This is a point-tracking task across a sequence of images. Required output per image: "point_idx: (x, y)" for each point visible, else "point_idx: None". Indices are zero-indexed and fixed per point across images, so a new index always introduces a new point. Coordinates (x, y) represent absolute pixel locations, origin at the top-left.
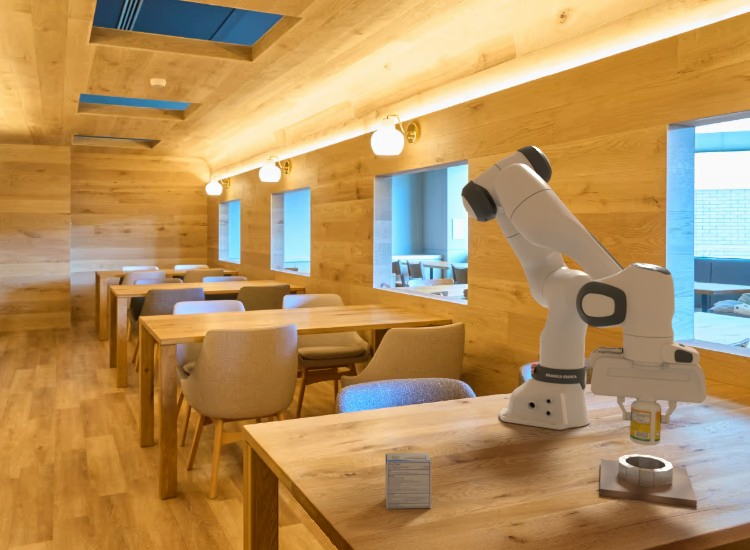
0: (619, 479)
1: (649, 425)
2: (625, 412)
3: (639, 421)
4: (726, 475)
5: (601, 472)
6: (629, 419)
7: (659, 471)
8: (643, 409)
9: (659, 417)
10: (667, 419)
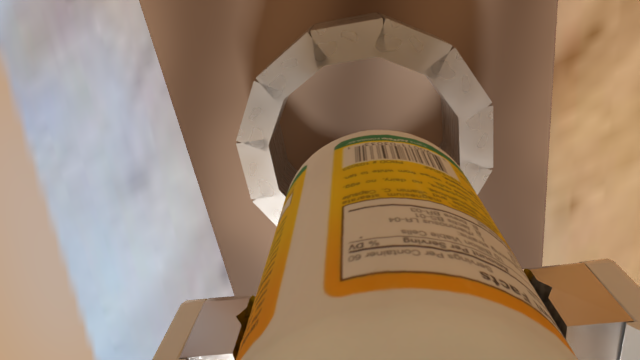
0: (466, 57)
1: (342, 197)
2: (631, 311)
3: (446, 212)
4: (130, 322)
5: (546, 111)
6: (542, 267)
7: (284, 53)
8: (436, 301)
9: (251, 314)
10: (186, 323)
